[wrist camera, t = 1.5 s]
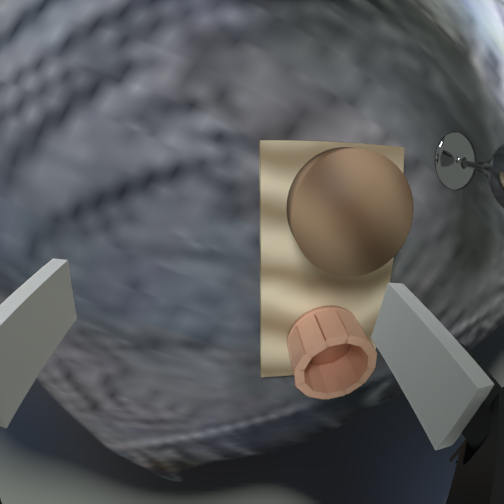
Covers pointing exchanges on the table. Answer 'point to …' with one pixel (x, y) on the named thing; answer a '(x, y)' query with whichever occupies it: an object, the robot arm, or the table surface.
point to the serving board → (303, 257)
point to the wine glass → (468, 165)
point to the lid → (349, 211)
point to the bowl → (329, 352)
